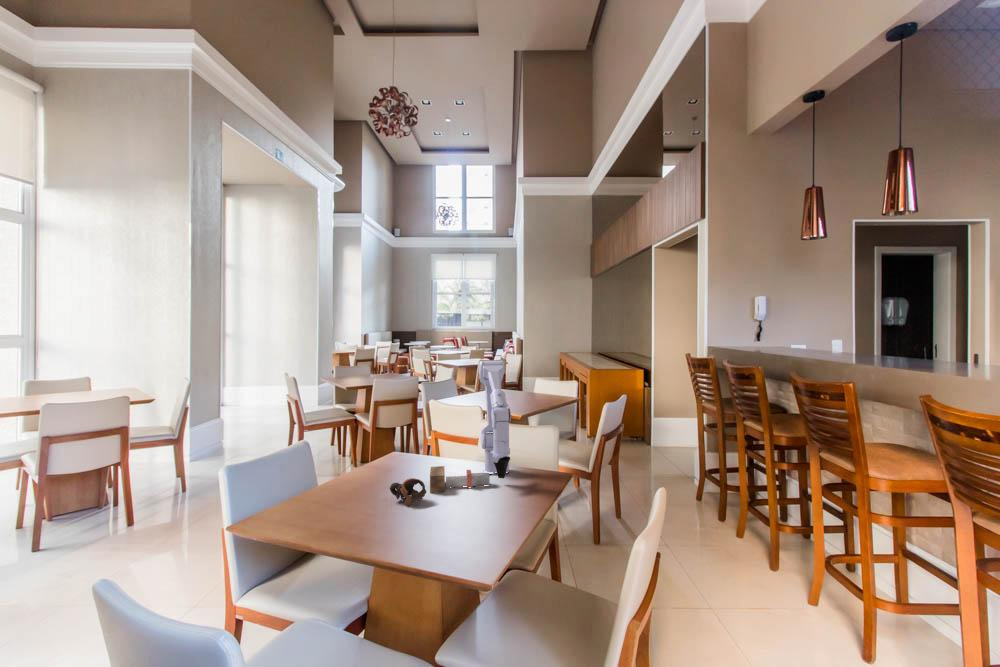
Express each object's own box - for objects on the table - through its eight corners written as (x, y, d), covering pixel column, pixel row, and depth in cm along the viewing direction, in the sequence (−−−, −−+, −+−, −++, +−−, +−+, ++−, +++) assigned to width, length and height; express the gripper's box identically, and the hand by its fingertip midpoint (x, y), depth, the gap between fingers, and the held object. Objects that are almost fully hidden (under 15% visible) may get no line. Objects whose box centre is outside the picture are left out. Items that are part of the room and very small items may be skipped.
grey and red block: (488, 482, 174) (488, 469, 174) (490, 487, 169) (489, 473, 169) (445, 484, 172) (445, 470, 172) (446, 489, 167) (445, 475, 167)
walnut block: (444, 481, 176) (444, 466, 176) (444, 492, 164) (444, 475, 164) (430, 482, 175) (430, 466, 175) (430, 493, 163) (429, 476, 163)
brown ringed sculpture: (425, 496, 161) (430, 478, 158) (419, 518, 153) (424, 500, 149) (391, 488, 161) (394, 470, 157) (383, 509, 152) (386, 491, 149)
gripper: (497, 435, 180) (497, 471, 180) (483, 443, 167) (483, 482, 167) (515, 436, 178) (515, 473, 178) (502, 444, 164) (503, 484, 164)
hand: (501, 477), depth 172 cm, fingers closed
